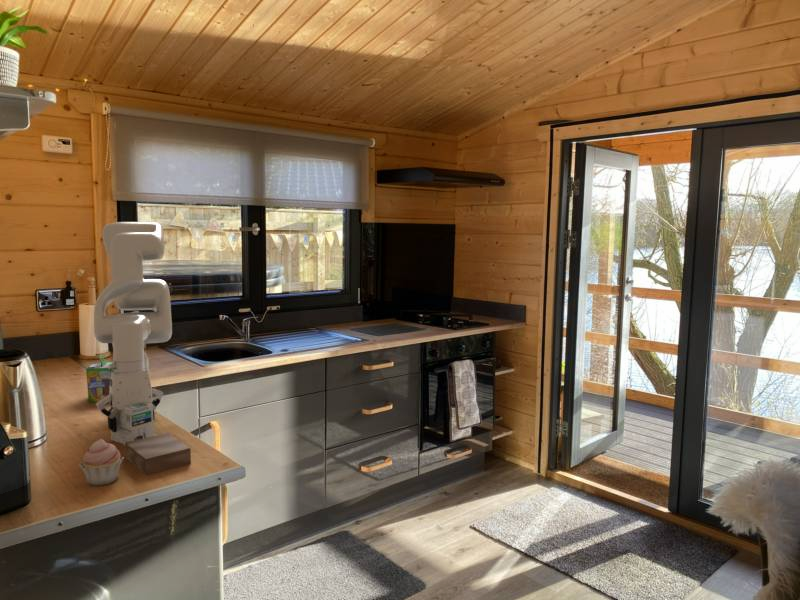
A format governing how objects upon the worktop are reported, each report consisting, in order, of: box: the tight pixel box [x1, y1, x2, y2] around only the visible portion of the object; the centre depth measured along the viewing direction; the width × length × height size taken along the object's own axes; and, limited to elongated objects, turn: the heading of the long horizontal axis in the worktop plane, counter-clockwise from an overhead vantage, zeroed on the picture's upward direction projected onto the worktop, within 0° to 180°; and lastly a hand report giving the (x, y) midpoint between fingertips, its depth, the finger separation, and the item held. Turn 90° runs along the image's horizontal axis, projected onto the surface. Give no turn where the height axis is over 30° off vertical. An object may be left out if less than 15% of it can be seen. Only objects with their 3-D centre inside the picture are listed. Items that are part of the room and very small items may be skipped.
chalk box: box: [85, 353, 114, 404], centre depth 208 cm, size 9×9×15 cm
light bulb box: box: [108, 401, 155, 446], centre depth 171 cm, size 11×7×11 cm, turn 56°
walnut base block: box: [124, 432, 192, 476], centre depth 158 cm, size 14×11×4 cm
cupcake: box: [78, 438, 125, 487], centre depth 146 cm, size 9×9×10 cm
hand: (132, 427), depth 171 cm, fingers open, 9 cm apart
